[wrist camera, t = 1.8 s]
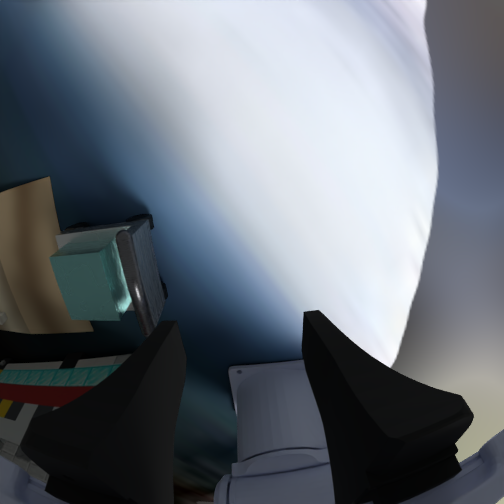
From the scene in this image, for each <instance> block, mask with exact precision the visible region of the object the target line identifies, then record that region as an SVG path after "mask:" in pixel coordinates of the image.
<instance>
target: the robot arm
mask: <svg viewBox="0 0 504 504" xmlns="http://www.w3.org/2000/svg"><path fill="white" fill-rule="evenodd" d="M302 355H303V360H296V361H288V362H278V363H268V364H256V365H242V366H231V367H229V369H228V373H229V379H230V384H231V390H232V395H233V400H234V405H235V411H236V415H237V444H238V463H233V464H232V474H228V475H225V476H223V477H222V479H221V481H220V482H219V483H218V484H217V486H216V489H215V494H214V504H495V503H497V502H498V501H499V500H500V499H501V498H502V497H504V429H503V430H502V431H501V432H499V433H498V434H496V435H495V436H494V437H492V438H491V439H490V440H489V441H487V443H485V444H484V445H483V446H482V448H480V450H479V451H478V452H476V453H475V454H473V455H472V456H470V457H468V458H467V459H465V460H463V461H462V462H460V463H459V462H458V460H457V458H456V456H455V454H456V453H457V452H458V449H457V447H456V445H455V443H456V442H457V441H458V439H459V438H460V437H461V436H462V435H463V433H464V432H465V431H466V430H467V429H468V428H469V426H470V425H471V423H472V421H473V418H474V415H473V413H472V411H471V410H470V408H469V406H468V405H467V403H466V402H465V400H464V399H463V398H462V396H461V395H458V394H454V393H450V392H447V391H443V390H439V389H436V388H433V387H430V386H428V385H425V384H422V383H420V382H417V381H415V380H413V379H410V378H408V377H406V376H404V375H402V374H400V373H398V372H396V371H395V370H393V369H391V368H389V367H388V366H386V365H384V364H383V363H381V362H380V361H378V360H376V359H375V358H373V357H372V356H371V355H369V354H368V353H366V352H365V351H364V350H363V349H361V348H360V347H359V346H357V345H356V344H355V343H354V342H353V341H351V340H350V339H349V338H348V337H347V336H346V335H345V334H343V333H342V332H341V331H340V330H339V329H338V328H337V327H336V326H335V325H334V324H333V323H332V322H331V321H330V320H329V319H328V318H327V317H326V316H325V315H324V314H323V313H322V312H320V311H319V310H315V311H307V312H304V316H303V336H302ZM186 362H187V357H186V353H185V350H184V346H183V343H182V339H181V335H180V331H179V328H178V324H177V321H162V322H161V323H160V324H159V325H158V326H157V327H156V328H155V329H154V331H153V332H152V333H151V334H150V335H149V336H148V337H147V338H146V340H145V341H144V342H143V343H142V344H141V345H140V346H139V347H138V348H137V349H136V350H135V351H134V353H133V354H131V355H130V356H129V357H128V358H127V359H126V360H125V361H124V362H123V363H122V364H121V365H120V366H119V367H118V368H117V369H116V370H115V371H114V372H112V373H111V374H110V375H109V376H108V377H106V378H105V379H104V380H103V381H101V382H100V383H99V384H97V385H96V386H95V387H93V388H92V389H90V390H89V391H87V392H86V393H84V394H83V395H81V396H80V397H78V398H76V399H74V400H73V401H71V402H69V403H67V404H65V405H63V406H61V407H59V408H57V409H55V410H53V411H50V412H48V413H45V414H43V415H40V416H38V417H35V418H32V419H31V421H30V423H29V426H28V428H27V430H26V432H25V434H24V436H23V438H22V440H21V443H20V447H21V450H22V451H23V452H24V454H25V455H26V456H27V457H28V458H29V459H31V460H32V461H33V462H34V463H35V464H36V465H38V466H39V467H40V468H41V469H42V470H44V471H45V472H46V473H47V474H49V478H48V481H47V483H44V482H42V481H40V480H38V479H36V478H34V477H32V476H30V475H29V474H28V473H27V472H26V471H25V470H23V469H22V468H21V467H19V466H18V465H16V464H15V463H13V462H11V461H9V460H8V459H6V458H4V457H3V456H1V455H0V504H174V498H173V449H174V434H175V427H176V421H177V416H178V411H179V406H180V402H181V397H182V392H183V387H184V382H185V375H186ZM238 370H241V371H238Z"/></svg>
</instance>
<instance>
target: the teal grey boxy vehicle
mask: <svg viewBox="0 0 504 504" xmlns="http://www.w3.org/2000/svg"><path fill="white" fill-rule="evenodd" d="M153 228H154V224H153V218H152V215H151V214H141V215H136V216H133V217H130V218H128V219H127V220H126V222H122V223H115V224H107V225H99V226H92V227H88V223H87V222H83V223H78V224H74V225H72V226H69V227H68V228H66V229H65V231H61V232H60V233H58V234H57V235H55V237H56V241H57V245H58V248H59V250H58V251H56V252H55V253H54V254H53V255H51V256H50V257H49V259H50V262H51V265H52V269H53V272H54V275H55V278H56V280H57V283H58V286H59V289H60V292H61V294H62V297H63V300H64V302H65V305H66V307H67V310H68V312H69V315H70V317H71V319H72V320H98V321H120V320H121V319H122V317H123V315H124V313H125V311H135V314H136V317H137V320H138V323H139V326H140V329H141V332H142V334H143V335H144V336H145V337H148V336H149V335H150V334H151V333H152V332H153V331H154V329H155V328H156V326H157V323H158V320H159V318H160V315H161V312H162V310H163V307H164V305H165V299H166V298H167V297H168V293H167V289H166V285H165V283H163V282H161V280H160V276H159V271H158V267H157V262H156V257H155V252H154V247H153V242H152V237H151V231H150V230H152V229H153Z"/></svg>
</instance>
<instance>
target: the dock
mask: <svg viewBox="0 0 504 504" xmlns="http://www.w3.org/2000/svg"><path fill="white" fill-rule="evenodd" d="M60 232H61V231H60V227H59V222H58V218H57V213H56V209H55V204H54V198H53V193H52V187H51V181H50V176H49V177H46V178H43V179H39V180H36V181H33V182H30V183H27V184H24V185H21V186H18V187H15V188H12V189H9V190H6V191H4V192H1V193H0V330H6V331H12V332H19V333H27V334H50V333H74V332H91V331H94V330H93V328H92V325H91V323H90V321H89V320H72V319H71V317H70V315H69V312H68V310H67V307H66V305H65V302H64V300H63V297H62V294H61V292H60V289H59V286H58V283H57V280H56V278H55V275H54V272H53V269H52V265H51V262H50V259H49V257H50V256H51V255H53V254H54V253H55V252H56V251H58V250H59V248H58V245H57V241H56V237H55V235H57V234H58V233H60Z"/></svg>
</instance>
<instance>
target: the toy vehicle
mask: <svg viewBox="0 0 504 504" xmlns="http://www.w3.org/2000/svg"><path fill="white" fill-rule="evenodd" d="M130 355H131V354H126V355H118V356H110V357H101V358H92V359H88V358H87V356H86V355H85V353H84V352H78V353H69V354H67V356H66V357H65V359H64V361H58V362H43V363H19V364H16V363H15V362H14V360H13V359H12V358H4V359H3V360H2V361H1V362H0V455H1V456H3V457H4V458H6V459H8V460H9V461H11V462H13V463H15V464H16V465H18V466H19V467H21V468H22V469H23V470H25V471H26V472H27V473H28V474H29V475H30V476H32V477H34V478H36V479H38V480H40V481H42V482H44V483H47V481H48V478H49V474H47V473H46V472H45V471H44V470H42V469H41V468H40V467H39V466H38V465H36V464H35V463H34V462H33V461H32V460H31V459H29V458H28V457H27V456H26V455H25V454H24V452H23V451H22V450H21V447H20V443H21V440H22V438H23V436H24V434H25V432H26V430H27V428H28V426H29V423H30V421H31V419H32V418H35V417H38V416H40V415H43V414H45V413H48V412H50V411H53V410H55V409H57V408H59V407H61V406H63V405H65V404H67V403H69V402H71V401H73V400H74V399H76V398H78V397H80V396H81V395H83V394H84V393H86V392H87V391H89V390H90V389H92V388H93V387H95V386H96V385H97V384H99V383H100V382H101V381H103V380H104V379H105V378H106V377H108V376H109V375H110V374H111V373H112V372H114V371H115V370H116V369H117V368H118V367H119V366H120V365H121V364H122V363H123V362H124V361H125V360H126V359H127V358H128V357H129V356H130Z"/></svg>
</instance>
